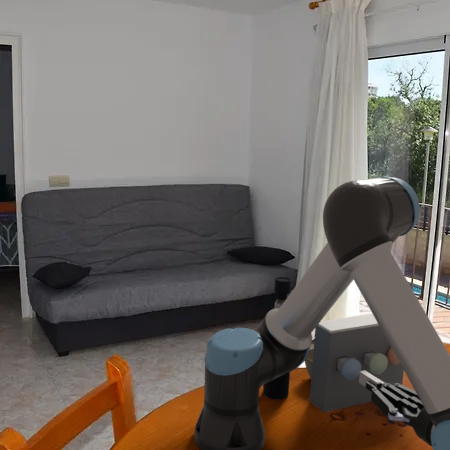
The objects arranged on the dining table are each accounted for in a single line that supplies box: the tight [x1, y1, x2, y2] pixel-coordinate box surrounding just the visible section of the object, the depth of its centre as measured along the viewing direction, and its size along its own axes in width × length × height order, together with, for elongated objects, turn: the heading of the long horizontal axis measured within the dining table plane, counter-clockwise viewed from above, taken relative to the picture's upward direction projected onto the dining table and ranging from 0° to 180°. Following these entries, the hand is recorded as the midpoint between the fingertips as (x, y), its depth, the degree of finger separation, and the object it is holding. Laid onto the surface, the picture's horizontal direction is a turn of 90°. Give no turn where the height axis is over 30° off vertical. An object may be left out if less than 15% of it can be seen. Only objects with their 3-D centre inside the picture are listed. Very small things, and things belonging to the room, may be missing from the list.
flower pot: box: [304, 348, 314, 379], centre depth 150 cm, size 10×10×7 cm
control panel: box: [309, 313, 405, 414], centre depth 140 cm, size 6×24×21 cm, turn 116°
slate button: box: [337, 357, 361, 380], centre depth 132 cm, size 4×5×5 cm
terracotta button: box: [386, 347, 400, 365], centre depth 142 cm, size 4×5×5 cm
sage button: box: [364, 352, 388, 375], centre depth 136 cm, size 4×5×5 cm
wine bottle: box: [262, 276, 292, 401], centre depth 140 cm, size 6×6×30 cm
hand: (361, 376), depth 128 cm, fingers closed
